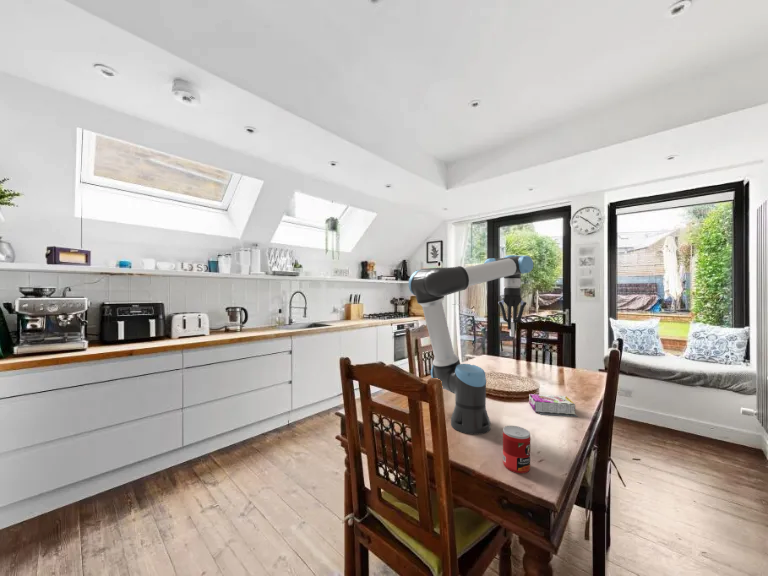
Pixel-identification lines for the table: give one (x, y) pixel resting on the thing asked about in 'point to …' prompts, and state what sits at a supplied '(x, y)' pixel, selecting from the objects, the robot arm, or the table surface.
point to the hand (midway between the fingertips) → (511, 336)
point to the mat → (557, 414)
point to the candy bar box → (551, 404)
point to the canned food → (516, 449)
